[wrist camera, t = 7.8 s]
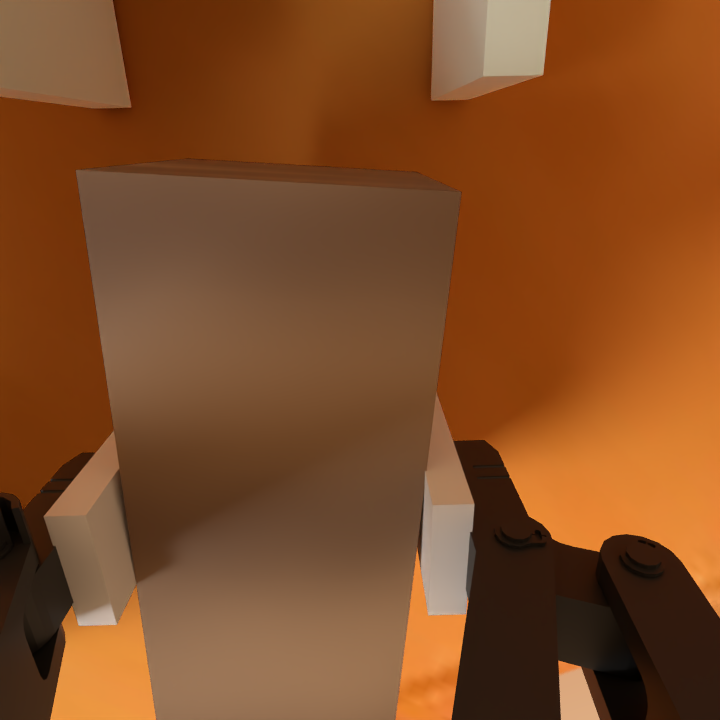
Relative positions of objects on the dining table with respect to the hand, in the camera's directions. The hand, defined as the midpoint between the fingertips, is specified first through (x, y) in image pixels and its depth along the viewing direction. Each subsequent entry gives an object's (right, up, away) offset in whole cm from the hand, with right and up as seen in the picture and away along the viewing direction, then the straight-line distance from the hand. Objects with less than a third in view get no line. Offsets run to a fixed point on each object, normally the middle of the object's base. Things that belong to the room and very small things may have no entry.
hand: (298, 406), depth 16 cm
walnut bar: (0, 0, +1) cm, 1 cm away
